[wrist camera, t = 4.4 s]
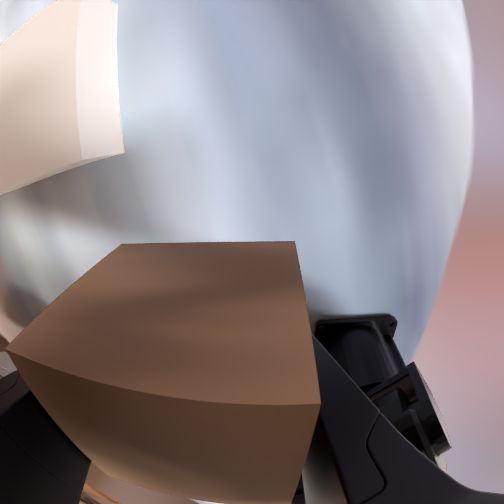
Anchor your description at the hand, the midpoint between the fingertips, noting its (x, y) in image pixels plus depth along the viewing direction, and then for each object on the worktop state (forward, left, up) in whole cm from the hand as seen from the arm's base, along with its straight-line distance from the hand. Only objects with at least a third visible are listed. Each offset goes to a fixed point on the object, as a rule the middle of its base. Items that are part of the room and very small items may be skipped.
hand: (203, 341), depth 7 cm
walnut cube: (0, 0, -1) cm, 1 cm away
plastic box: (+14, -11, -11) cm, 21 cm away
